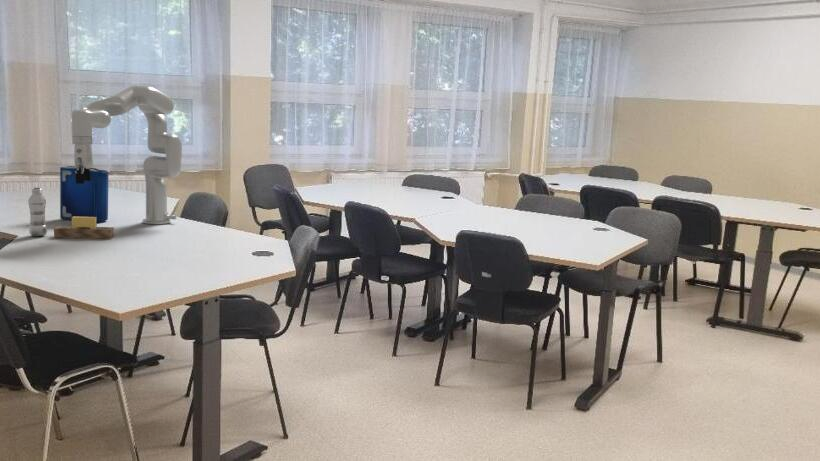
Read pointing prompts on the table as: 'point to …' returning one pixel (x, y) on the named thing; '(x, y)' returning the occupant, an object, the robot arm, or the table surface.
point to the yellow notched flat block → (84, 222)
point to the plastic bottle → (37, 213)
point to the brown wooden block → (84, 232)
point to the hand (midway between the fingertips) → (83, 182)
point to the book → (83, 195)
